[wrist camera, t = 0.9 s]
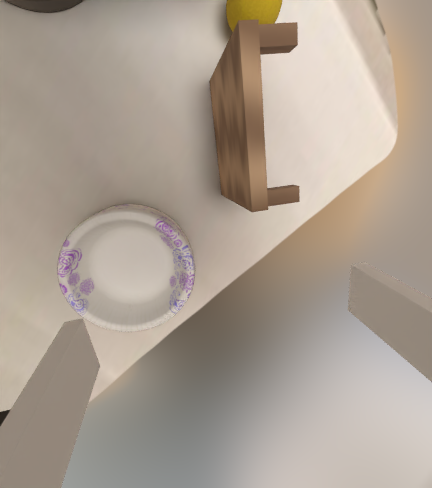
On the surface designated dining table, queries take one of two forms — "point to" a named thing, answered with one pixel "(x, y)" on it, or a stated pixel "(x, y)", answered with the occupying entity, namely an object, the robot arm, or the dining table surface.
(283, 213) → the dining table surface
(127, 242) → the paper bowls
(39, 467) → the robot arm
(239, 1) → the lemon
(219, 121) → the footstool
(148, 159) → the dining table surface
